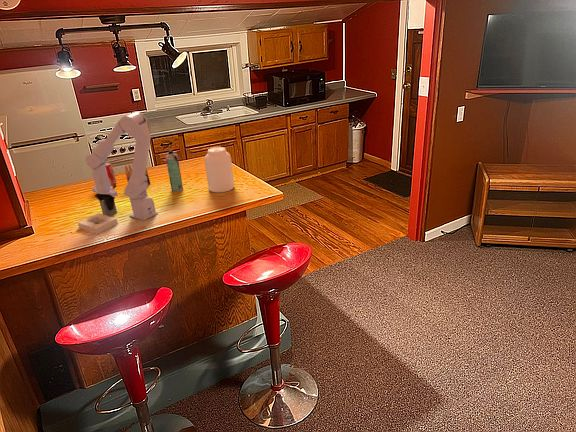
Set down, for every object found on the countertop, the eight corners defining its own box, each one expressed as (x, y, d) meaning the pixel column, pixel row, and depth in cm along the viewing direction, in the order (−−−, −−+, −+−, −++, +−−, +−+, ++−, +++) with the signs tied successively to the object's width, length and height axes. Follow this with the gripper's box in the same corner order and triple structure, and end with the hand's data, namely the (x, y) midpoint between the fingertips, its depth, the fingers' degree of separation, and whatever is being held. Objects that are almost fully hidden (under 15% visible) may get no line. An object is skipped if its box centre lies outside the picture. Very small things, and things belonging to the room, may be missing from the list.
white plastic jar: (237, 190, 205) (232, 150, 196) (211, 195, 201) (206, 154, 192) (230, 181, 215) (226, 143, 207) (206, 186, 212) (200, 147, 203)
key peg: (117, 212, 188) (113, 197, 185) (107, 216, 185) (103, 201, 181) (113, 211, 190) (109, 196, 187) (103, 215, 186) (99, 200, 183)
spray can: (184, 187, 211) (177, 148, 203) (180, 191, 207) (174, 152, 198) (173, 187, 212) (166, 148, 203) (170, 191, 207) (162, 152, 198)
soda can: (114, 188, 215) (108, 166, 209) (100, 189, 215) (94, 166, 210) (119, 183, 221) (114, 161, 216) (106, 184, 221) (100, 162, 216)
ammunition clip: (128, 187, 215) (123, 165, 210) (128, 186, 216) (123, 164, 211) (150, 183, 219) (145, 161, 213) (149, 182, 220) (145, 160, 215)
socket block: (117, 223, 178) (116, 218, 177) (97, 234, 170) (95, 228, 169) (99, 218, 184) (98, 213, 183) (79, 227, 176) (77, 222, 175)
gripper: (120, 179, 180) (127, 208, 186) (98, 174, 187) (106, 202, 193) (106, 185, 174) (113, 214, 180) (84, 179, 181) (92, 208, 187)
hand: (108, 208), depth 186 cm, fingers closed on key peg, 3 cm apart
